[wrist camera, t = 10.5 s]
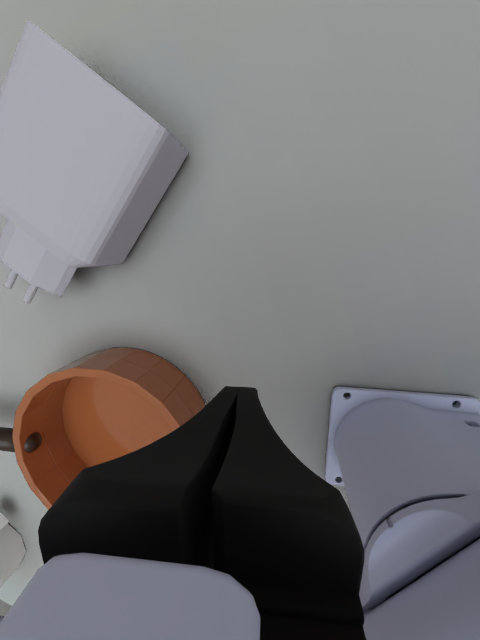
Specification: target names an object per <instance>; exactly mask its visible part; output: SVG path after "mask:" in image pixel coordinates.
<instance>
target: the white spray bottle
mask: <svg viewBox="0 0 480 640" xmlns="http://www.w3.org/2000/svg"><path fill="white" fill-rule="evenodd" d="M8 522H9V520H8V519H7V518H6V517H5V516H4V515H3V514H2V513H1V512H0V588H1V586H2V585H3V584H4V583H5V582H6V580H7V579H8V578H9V577H10V576H11V574H12V573H13V572H14V571H15V570H16V568H17V567H18V566H19V565H20V564H21V561H22V559H23V557H24V555H25V553H26V550H25V547H24V544H23V540H22V537H21V535H20V534H19V533H18V532H17V531H16V530H14V529H13V528H12V527H11V526H10V525H9V524H8Z"/></svg>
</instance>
